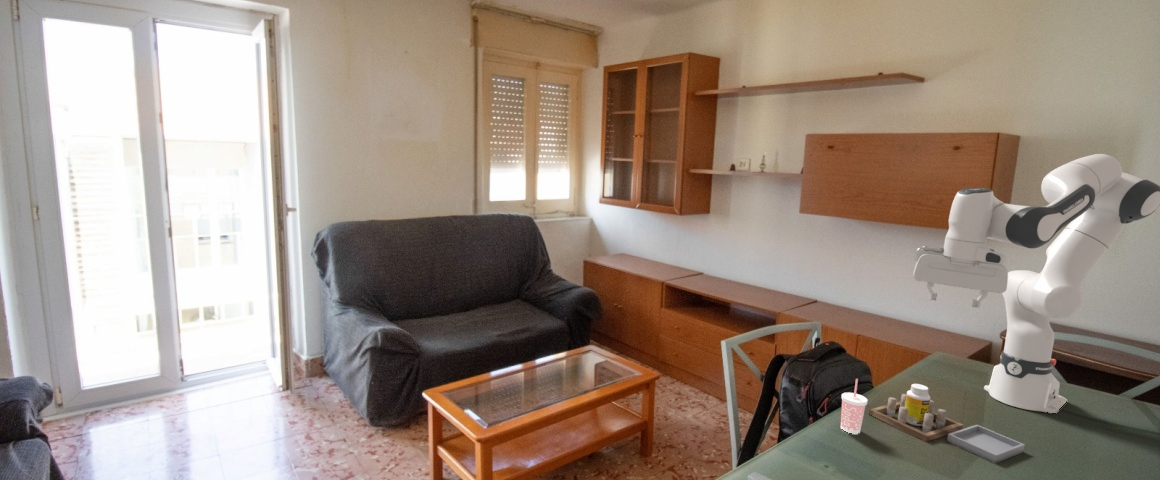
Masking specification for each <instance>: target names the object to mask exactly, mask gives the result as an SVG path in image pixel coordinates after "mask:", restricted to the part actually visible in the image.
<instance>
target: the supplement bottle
mask: <svg viewBox="0 0 1160 480" xmlns="http://www.w3.org/2000/svg"><path fill="white" fill-rule="evenodd" d="M905 394H906V401H905V407H906V408H907V409H908V414H907V420H906V424H907V423H908V424H910V425H912V426H916V427H923V422H924V416H925V413H928V411H929V405H930V400H931V396H930V394H929V387H928V386H926V385H923V384H920V383H913V384H911V387H910V390H907V391H906V393H905Z"/></svg>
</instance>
